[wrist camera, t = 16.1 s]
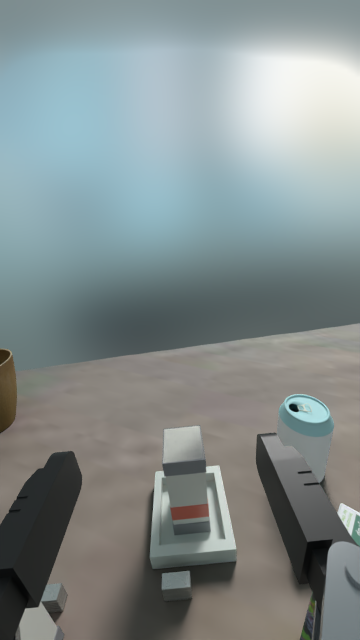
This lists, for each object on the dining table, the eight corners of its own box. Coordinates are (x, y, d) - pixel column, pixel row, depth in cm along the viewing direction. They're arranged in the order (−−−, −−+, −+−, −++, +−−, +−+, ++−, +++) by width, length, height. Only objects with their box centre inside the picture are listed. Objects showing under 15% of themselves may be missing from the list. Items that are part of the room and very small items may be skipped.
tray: (152, 569, 27) (149, 557, 26) (157, 482, 36) (155, 471, 35) (236, 561, 27) (236, 548, 26) (219, 476, 36) (219, 465, 35)
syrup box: (316, 583, 24) (336, 496, 19) (389, 648, 20) (439, 559, 15) (296, 650, 21) (315, 563, 16) (381, 745, 17) (443, 669, 12)
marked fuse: (174, 535, 29) (162, 463, 24) (173, 495, 33) (163, 428, 29) (210, 531, 29) (205, 459, 24) (205, 492, 33) (200, 425, 29)
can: (301, 497, 32) (310, 434, 28) (265, 457, 38) (269, 400, 34) (334, 475, 34) (348, 414, 30) (296, 440, 41) (302, 385, 36)
